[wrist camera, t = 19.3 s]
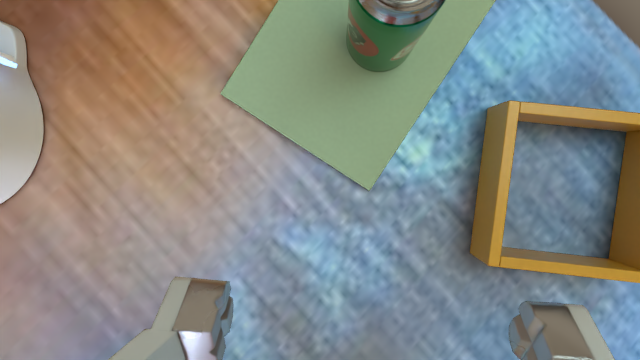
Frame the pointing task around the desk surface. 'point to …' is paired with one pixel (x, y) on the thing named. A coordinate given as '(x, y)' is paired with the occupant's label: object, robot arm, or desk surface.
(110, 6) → the desk surface
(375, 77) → the green mat
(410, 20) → the soda can
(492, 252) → the frame
